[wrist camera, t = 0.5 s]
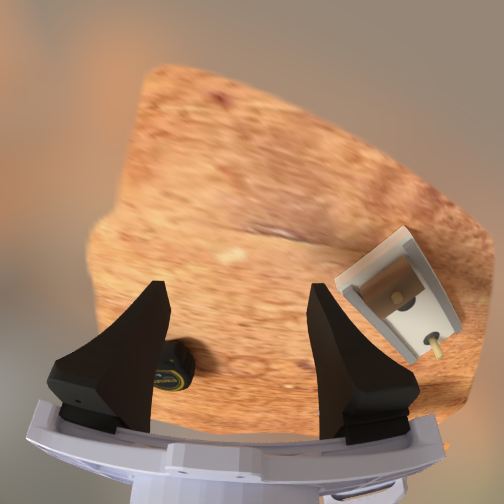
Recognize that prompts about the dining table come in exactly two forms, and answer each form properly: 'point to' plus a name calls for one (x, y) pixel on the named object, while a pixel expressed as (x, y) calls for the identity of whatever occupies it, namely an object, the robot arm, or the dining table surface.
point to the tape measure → (174, 367)
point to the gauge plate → (413, 312)
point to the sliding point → (391, 288)
